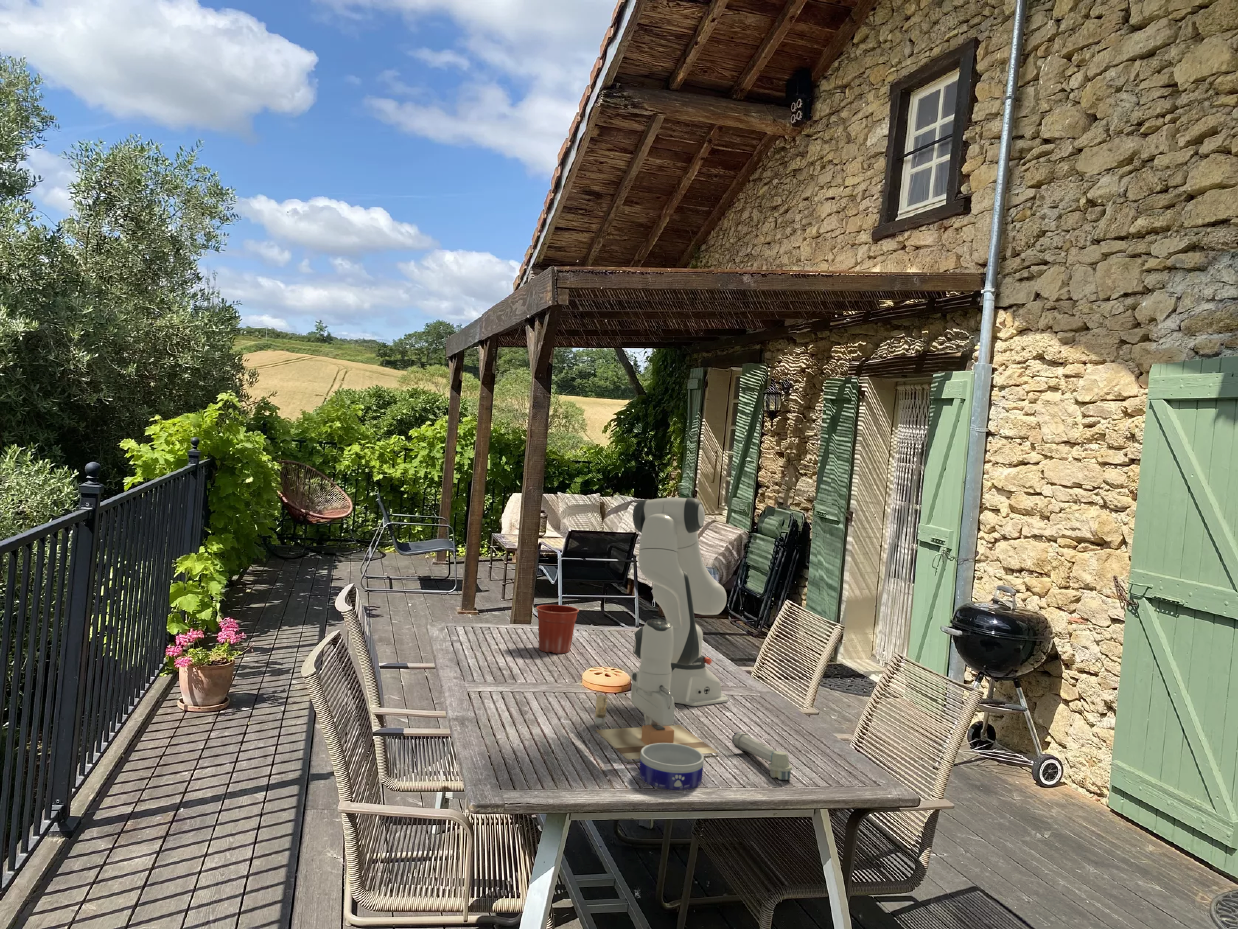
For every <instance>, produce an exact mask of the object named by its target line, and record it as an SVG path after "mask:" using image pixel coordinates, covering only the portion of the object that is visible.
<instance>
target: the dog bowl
mask: <svg viewBox="0 0 1238 929" xmlns="http://www.w3.org/2000/svg"><path fill="white" fill-rule="evenodd" d="M704 756H705V755H704V754H702V753H701V752H699V751H698V750H696V749H694V748H692V747H689V746H685V745H681V744H674V743H655V744H650V745H647V746H645V747H643V748H642V750H641V754H640V759H639V761H640V763H639V777H640V779H641V780H642V781H643V782H644V783H646V784H648V785H650V786H652V787H655V788H659V789H661V790H662V789H663V790H670V791H687V789H688V790H692V789H695V788H698V787H699V786H700V785H701V783H702V780H703V772H704V762H705V761H704V760H705V758H704ZM698 785H699V786H698ZM691 788H692V789H691Z"/></svg>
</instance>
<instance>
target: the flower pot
mask: <svg viewBox="0 0 1238 929" xmlns="http://www.w3.org/2000/svg"><path fill="white" fill-rule="evenodd" d="M535 609H536V610H537V618H538V620H537V621H538V624H537V625H538V650H539V651H541V652H544V653H550V652H551V653H552V654H566V653H569V652H570V651H571V649H572V641H573V635H574V630H575V629H574V628H575V624H576V621H577V617H578V613H579V612H580V609H578V608H577V607H575V606H574V607H573V606H570V605H562V604H559V605H558V604H542V605H537V606H536V608H535Z"/></svg>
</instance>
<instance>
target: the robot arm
mask: <svg viewBox="0 0 1238 929" xmlns="http://www.w3.org/2000/svg"><path fill="white" fill-rule="evenodd" d="M705 519H706V513H705V509H704V505H703V503H702V502H701V501H700V500H699V499H698V498H694V497H687V498H685V497H677V496H676V497H675V496H673V497H671V496H670V497H669V496H668V497H664V498H661V497H660V498H654V499H653V498H652V499H649V498H647V499H642V500H639V501H637V503H636V504H635V505H634V507H633V510H632V523H633V526H634V528H635V530H636V531H638V533H640V537H639V538H640V539H639V545H638V546H639V549H638V566H639V570H640V572H641V574H642V575H643V576H644V577H645V578H646V579H647V580H648V581H650V582H652V583H653V586H652V597H653V599H654V601H655V602H656V603H657V605H659V607H660V608H661V610H662V612H663V615H664V617H665V619H662V618H653V619H652V618H651V619H647V621H646V622H645V623H644V625H643V626H641V627H640V628H638V630H636V631H634V645H633V650H632V653H633V654H634V655H635V657H636V658H638V659H639V660H640V665H639V667H638V671H633V672H631V676H630V678H631V680H632V682H631V689H630V699H631V705H633V706H634V707H635V708H637V709H638V710H639V711H641V712H642V713H643V718H644V723H645V724H644V725H660V726H672V725H674V723H675V703H676V704H681V705H685V706H686V705H687V706H690V707H699V706H706V705H714V704H723V703H728V702H729V698H728V696H727V695H726V694H725V693H723V692H722V684H721V680H720V679H719V678H718V677H717V676H716V675H715V674H714V673H713V672H712V671H711V670H710V669H709V668H707V667H706V664H707V665H710V666H711V665H712V663H713V659H712V658H709V656H706V657H705V656H704V655H703V653H702V652H703V640H704V638H703V637H704V632H703V629H702V628H701V627H700V626H699V625H698V624H697V623H696V618H695V614H697V615H701V616H714V615H719V614H720V613H722V611H723V610H724V609H725V607H726V604H727V599H728V598H727V597H728V596H727V592H726V589H725V588H724V587H723V585H721V583H719V582H718V581H717V580H715V578H714V577H713V576H712V574H710V572H709V571H708V569H707V566H706V565H705V563H704V560H703V557H702V553H701V546H700V540H699V536H698V532H699V531H700V530H701V529H702V528H703V527H704V523H705Z"/></svg>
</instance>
